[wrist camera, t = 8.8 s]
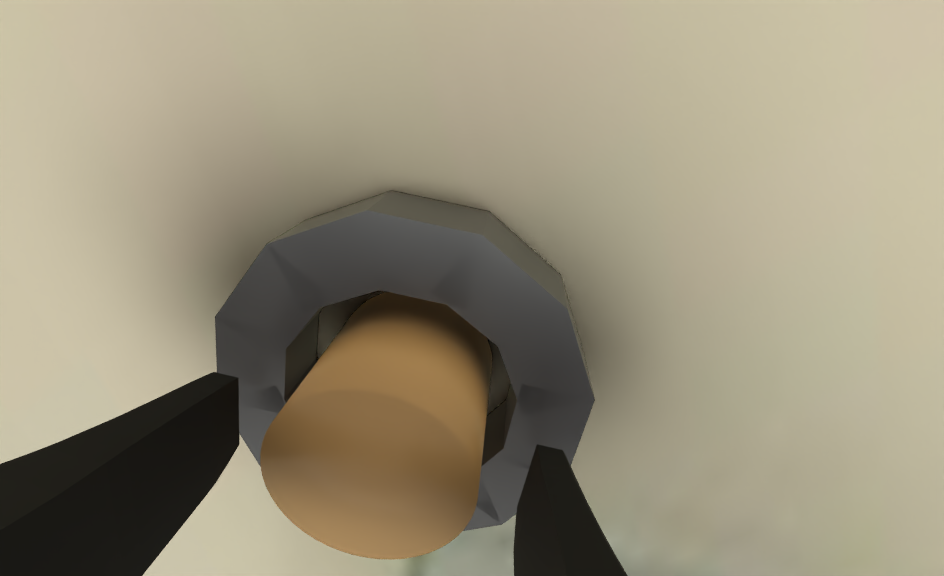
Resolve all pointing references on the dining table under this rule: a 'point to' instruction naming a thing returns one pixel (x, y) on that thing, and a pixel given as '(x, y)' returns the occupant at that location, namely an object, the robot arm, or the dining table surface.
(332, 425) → the cap
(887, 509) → the dining table surface
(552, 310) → the barrel ring
